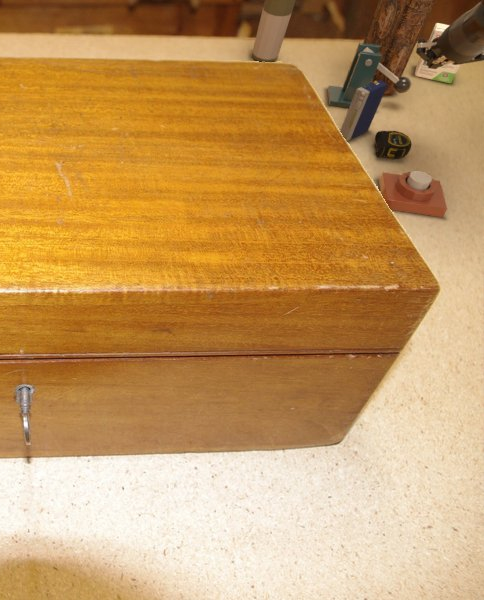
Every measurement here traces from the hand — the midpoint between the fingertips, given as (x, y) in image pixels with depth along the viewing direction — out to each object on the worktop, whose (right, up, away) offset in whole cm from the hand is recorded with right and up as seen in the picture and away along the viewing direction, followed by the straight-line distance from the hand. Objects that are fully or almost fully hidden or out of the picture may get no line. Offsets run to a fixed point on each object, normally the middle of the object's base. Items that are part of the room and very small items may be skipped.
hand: (432, 63), depth 143 cm
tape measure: (-6, -17, +7) cm, 19 cm away
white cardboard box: (+17, +7, +30) cm, 35 cm away
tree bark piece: (+2, +6, +28) cm, 29 cm away
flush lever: (-3, +2, +15) cm, 16 cm away
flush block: (-7, -28, -4) cm, 29 cm away
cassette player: (-11, -12, +11) cm, 20 cm away
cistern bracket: (-7, -2, +21) cm, 22 cm away
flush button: (-7, -26, -6) cm, 27 cm away
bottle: (-23, +13, +34) cm, 43 cm away
